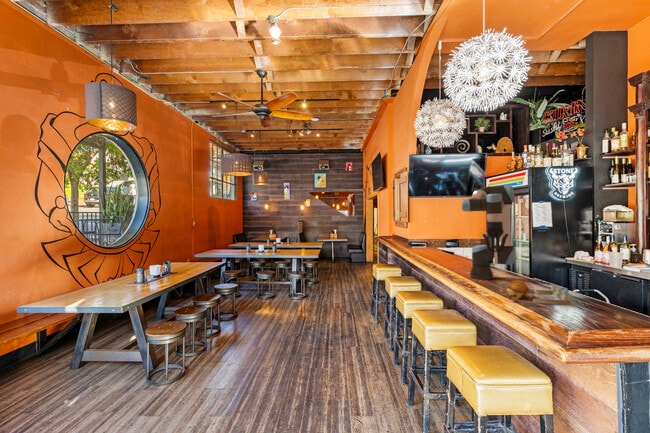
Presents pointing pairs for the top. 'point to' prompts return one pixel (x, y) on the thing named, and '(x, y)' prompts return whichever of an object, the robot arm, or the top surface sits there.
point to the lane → (559, 293)
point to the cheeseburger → (517, 289)
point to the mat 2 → (531, 304)
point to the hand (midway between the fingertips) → (495, 263)
